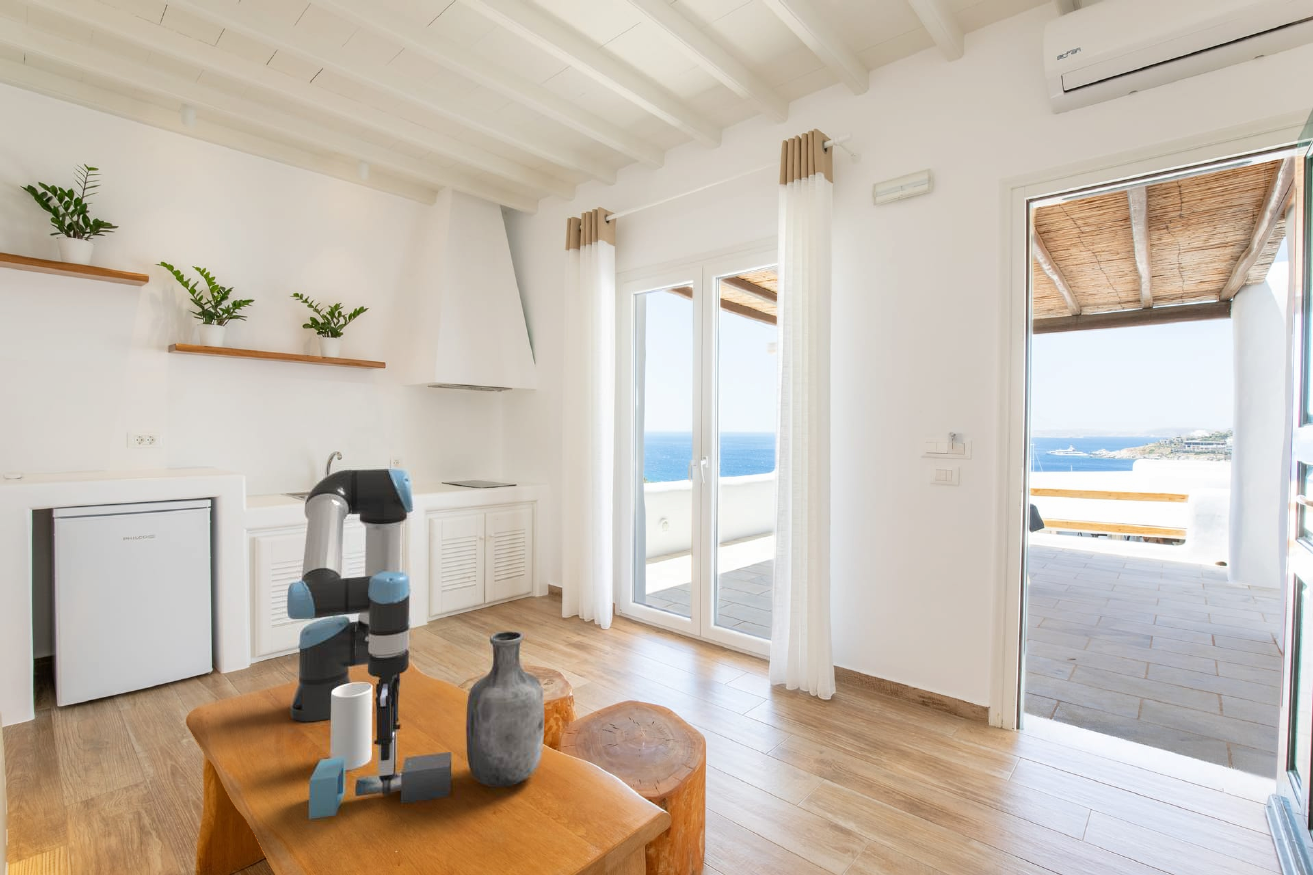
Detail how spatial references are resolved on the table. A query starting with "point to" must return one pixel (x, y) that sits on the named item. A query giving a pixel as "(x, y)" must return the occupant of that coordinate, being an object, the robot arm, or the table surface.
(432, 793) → the block
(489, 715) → the vase
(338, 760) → the socket
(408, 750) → the table surface
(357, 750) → the cup
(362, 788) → the handle
